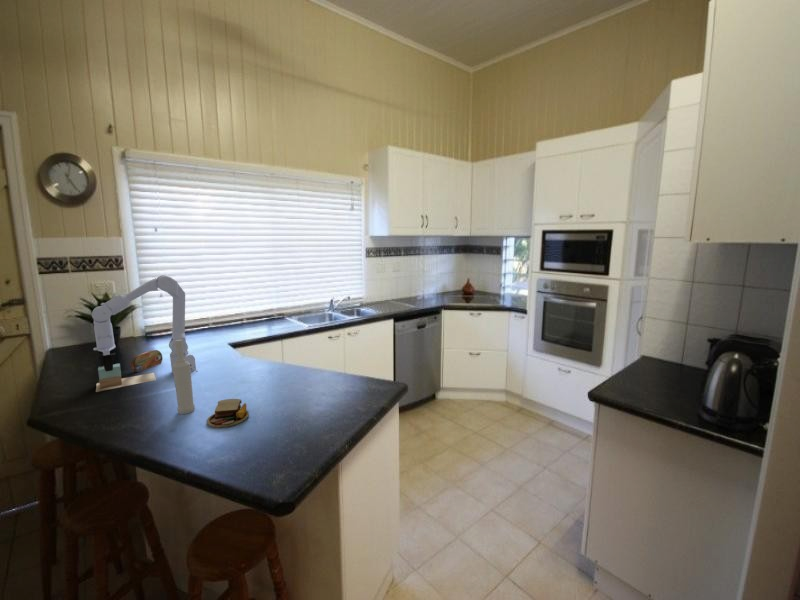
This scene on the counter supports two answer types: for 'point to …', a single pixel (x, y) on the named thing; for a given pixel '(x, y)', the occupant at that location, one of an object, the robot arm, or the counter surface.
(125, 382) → the birch board
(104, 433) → the counter surface
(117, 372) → the teal brick
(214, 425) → the toy sandwich meal
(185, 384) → the bottle
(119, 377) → the walnut block
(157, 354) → the tin
